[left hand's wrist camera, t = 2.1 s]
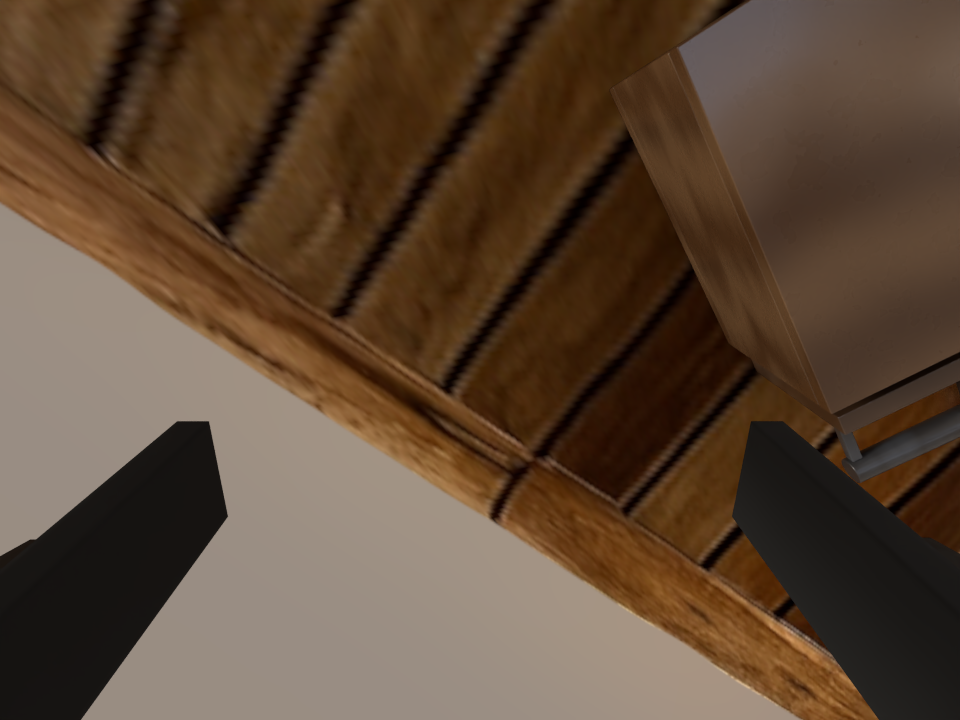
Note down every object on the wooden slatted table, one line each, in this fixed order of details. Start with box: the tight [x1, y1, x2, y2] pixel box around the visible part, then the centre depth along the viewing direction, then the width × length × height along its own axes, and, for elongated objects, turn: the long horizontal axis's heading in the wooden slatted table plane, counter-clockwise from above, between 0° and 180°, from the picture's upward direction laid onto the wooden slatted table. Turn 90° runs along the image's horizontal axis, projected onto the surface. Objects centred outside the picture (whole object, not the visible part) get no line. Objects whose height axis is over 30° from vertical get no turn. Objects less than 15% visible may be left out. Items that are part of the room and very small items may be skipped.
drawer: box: [751, 352, 960, 483], centre depth 28 cm, size 22×9×9 cm, turn 31°
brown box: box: [610, 0, 960, 414], centre depth 27 cm, size 18×10×11 cm, turn 31°
